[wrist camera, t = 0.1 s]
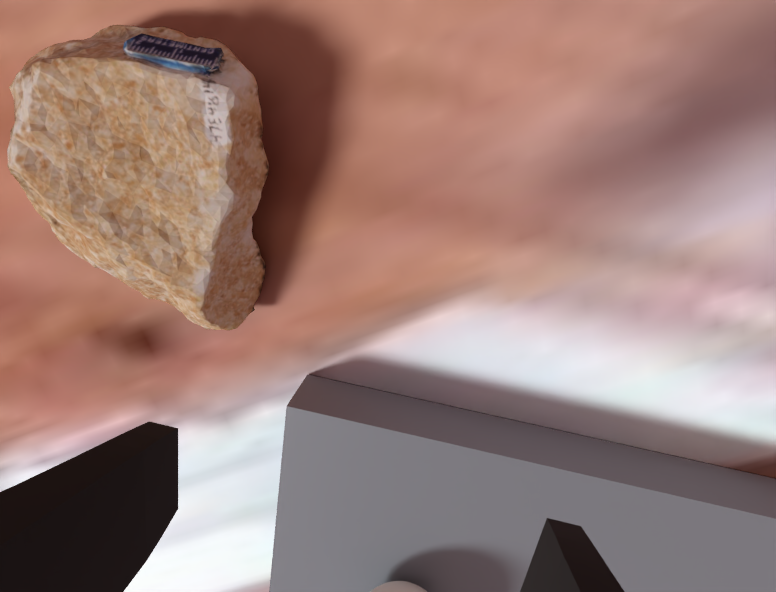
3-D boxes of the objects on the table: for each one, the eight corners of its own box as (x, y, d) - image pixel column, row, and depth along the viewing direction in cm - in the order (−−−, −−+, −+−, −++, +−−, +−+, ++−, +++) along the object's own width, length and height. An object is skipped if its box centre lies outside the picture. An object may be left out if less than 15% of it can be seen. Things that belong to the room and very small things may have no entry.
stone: (300, 66, 16) (241, 39, 12) (258, 328, 20) (202, 380, 15) (82, 8, 16) (-50, -37, 12) (81, 274, 20) (-20, 310, 16)
